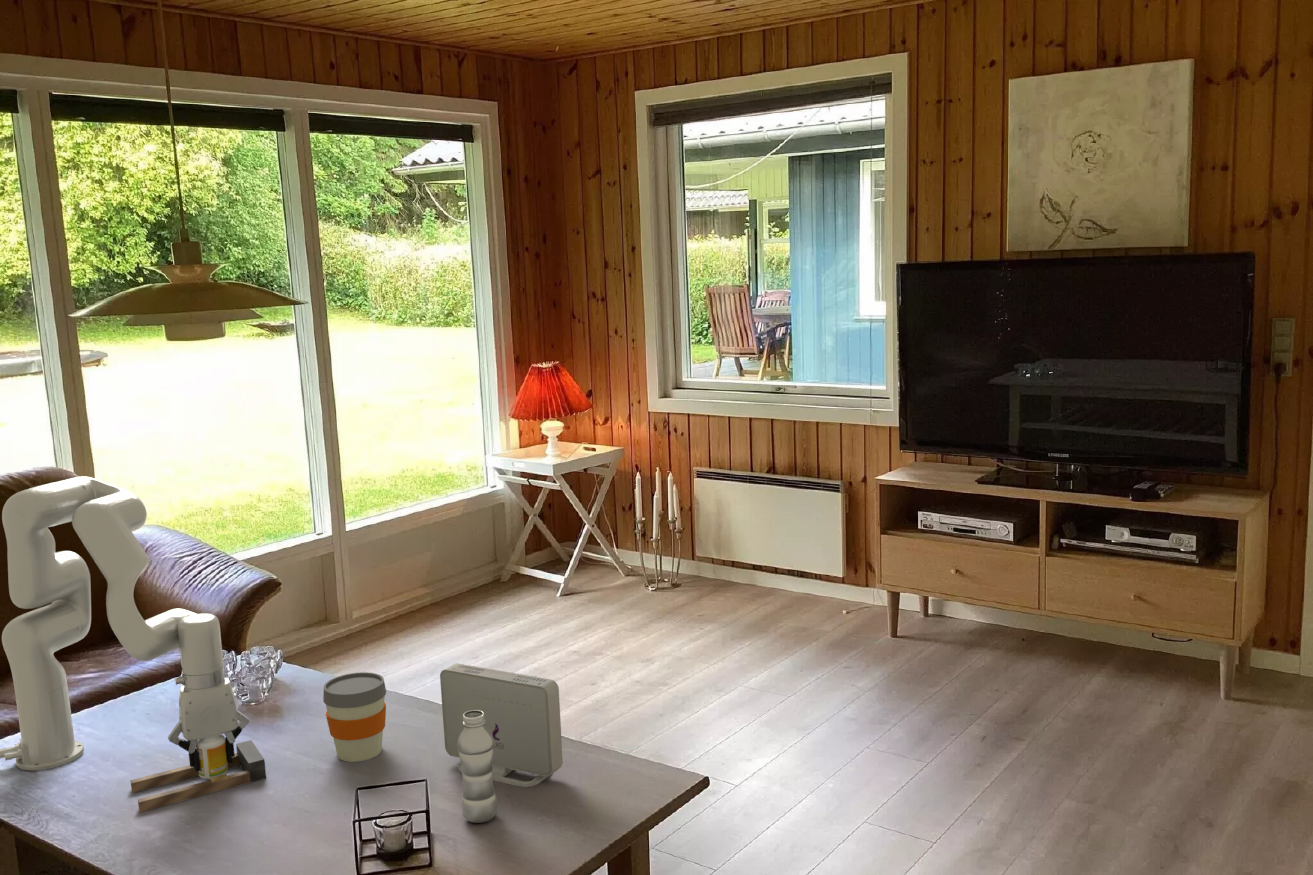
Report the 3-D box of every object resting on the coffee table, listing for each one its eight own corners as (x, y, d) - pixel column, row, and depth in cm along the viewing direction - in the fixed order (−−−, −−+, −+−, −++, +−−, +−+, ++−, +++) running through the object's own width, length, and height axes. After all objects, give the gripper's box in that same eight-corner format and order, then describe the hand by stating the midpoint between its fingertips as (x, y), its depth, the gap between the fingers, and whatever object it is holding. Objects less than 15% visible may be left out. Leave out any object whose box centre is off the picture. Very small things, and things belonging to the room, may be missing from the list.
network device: (439, 768, 223) (432, 672, 220) (465, 750, 231) (459, 657, 228) (546, 792, 211) (540, 692, 208) (571, 773, 219) (566, 675, 216)
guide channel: (140, 812, 209) (137, 792, 209) (131, 789, 219) (129, 770, 218) (266, 778, 221) (264, 759, 221) (253, 758, 231) (251, 740, 230)
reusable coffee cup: (399, 754, 230) (393, 685, 227) (338, 771, 223) (332, 700, 221) (379, 734, 240) (374, 667, 238) (320, 749, 234) (314, 681, 231)
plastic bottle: (481, 806, 207) (474, 703, 204) (506, 816, 203) (499, 712, 199) (454, 820, 202) (446, 715, 199) (479, 831, 198) (472, 724, 194)
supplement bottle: (233, 767, 224) (228, 721, 222) (220, 780, 218) (215, 733, 217) (207, 767, 224) (202, 721, 223) (194, 779, 219) (189, 733, 217)
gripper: (159, 694, 210) (169, 784, 213) (253, 673, 219) (262, 760, 222) (153, 682, 217) (163, 769, 220) (245, 662, 226) (253, 747, 229)
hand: (212, 764), depth 221 cm, fingers closed on supplement bottle, 5 cm apart
